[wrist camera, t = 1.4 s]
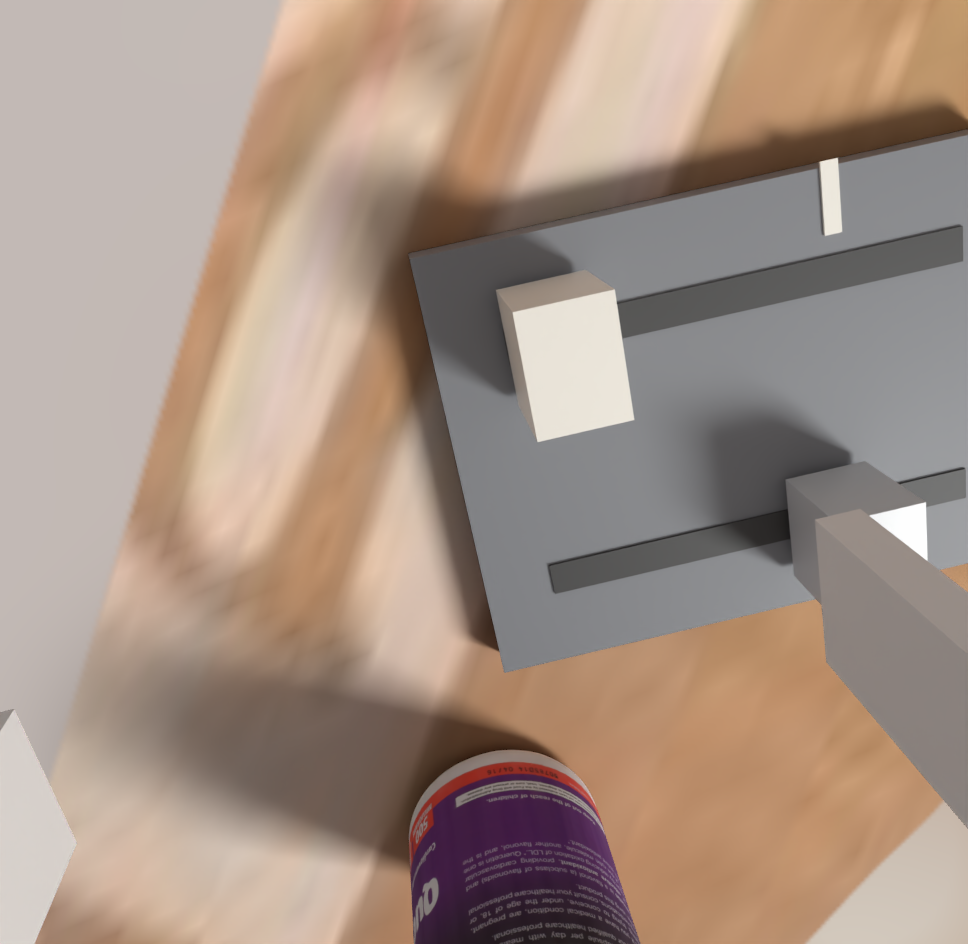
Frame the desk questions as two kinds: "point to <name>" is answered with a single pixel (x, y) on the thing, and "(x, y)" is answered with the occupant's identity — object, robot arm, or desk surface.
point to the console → (712, 391)
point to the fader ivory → (566, 354)
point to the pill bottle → (513, 857)
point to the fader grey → (845, 494)
